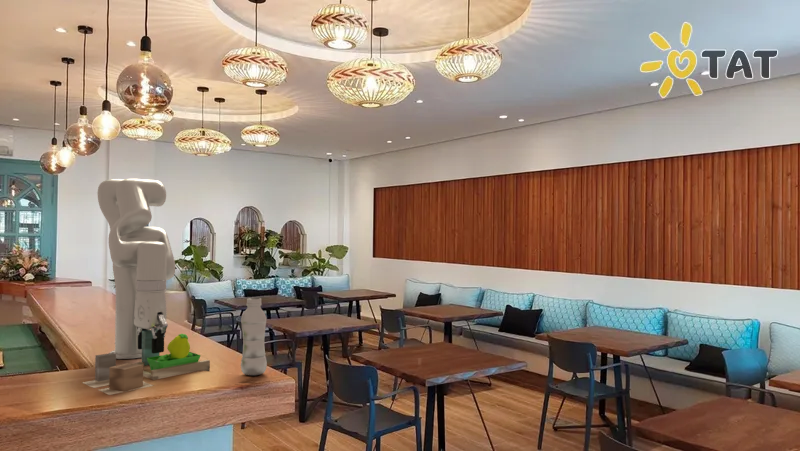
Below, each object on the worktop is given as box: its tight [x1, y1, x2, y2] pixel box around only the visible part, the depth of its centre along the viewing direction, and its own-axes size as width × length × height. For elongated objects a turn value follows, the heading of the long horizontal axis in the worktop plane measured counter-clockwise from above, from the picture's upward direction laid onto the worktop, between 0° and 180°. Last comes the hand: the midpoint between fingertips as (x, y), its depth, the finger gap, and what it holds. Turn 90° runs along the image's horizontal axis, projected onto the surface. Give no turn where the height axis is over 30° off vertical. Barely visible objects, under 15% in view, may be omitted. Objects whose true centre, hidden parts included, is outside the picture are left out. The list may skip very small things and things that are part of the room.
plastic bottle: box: [240, 297, 268, 377], centre depth 144 cm, size 6×7×20 cm
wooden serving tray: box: [134, 329, 211, 381], centre depth 146 cm, size 18×15×10 cm
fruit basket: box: [147, 333, 201, 371], centre depth 143 cm, size 11×9×11 cm
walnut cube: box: [108, 362, 144, 393], centre depth 127 cm, size 5×5×5 cm
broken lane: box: [82, 352, 154, 396], centre depth 130 cm, size 16×10×7 cm, turn 50°
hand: (150, 350), depth 151 cm, fingers open, 7 cm apart
